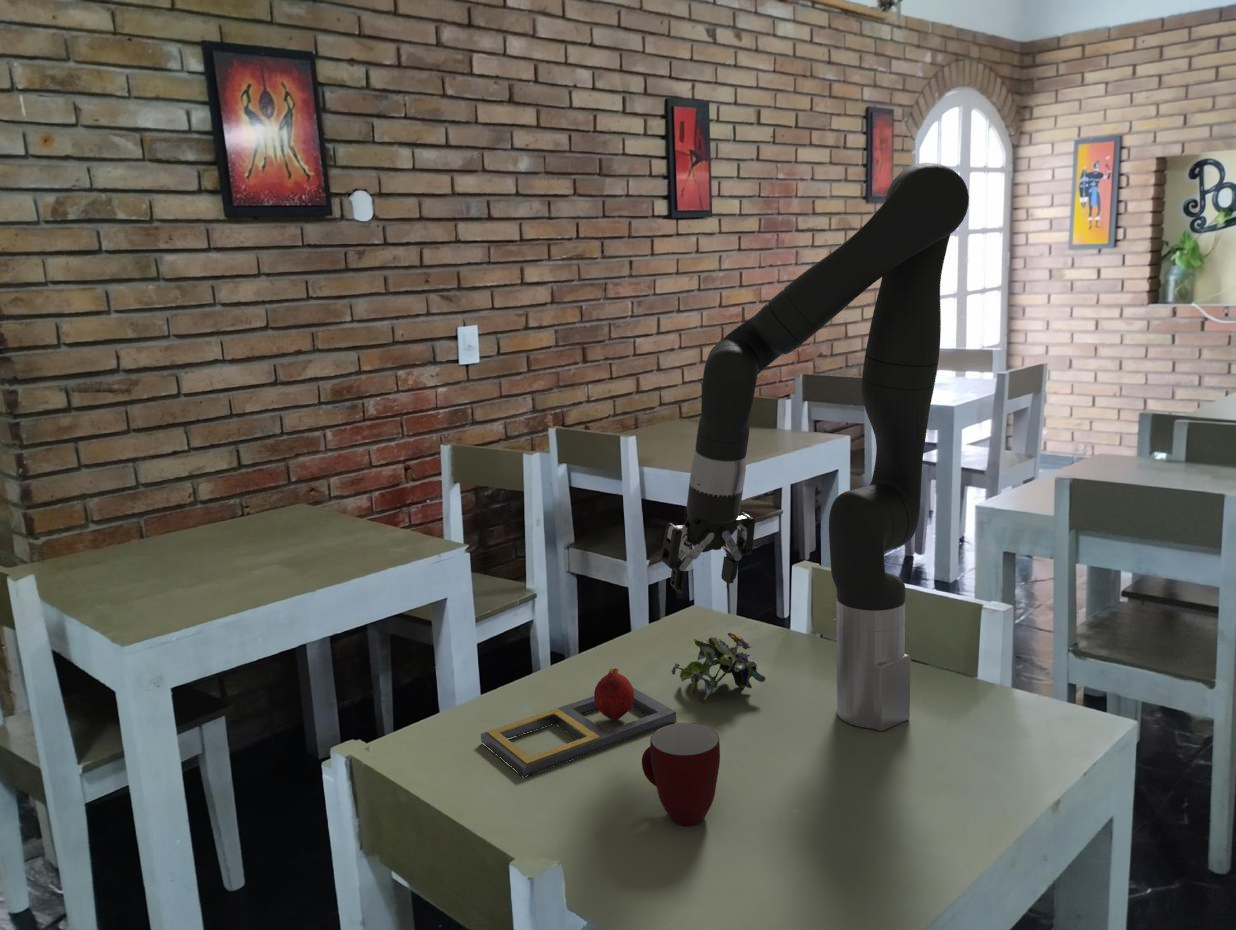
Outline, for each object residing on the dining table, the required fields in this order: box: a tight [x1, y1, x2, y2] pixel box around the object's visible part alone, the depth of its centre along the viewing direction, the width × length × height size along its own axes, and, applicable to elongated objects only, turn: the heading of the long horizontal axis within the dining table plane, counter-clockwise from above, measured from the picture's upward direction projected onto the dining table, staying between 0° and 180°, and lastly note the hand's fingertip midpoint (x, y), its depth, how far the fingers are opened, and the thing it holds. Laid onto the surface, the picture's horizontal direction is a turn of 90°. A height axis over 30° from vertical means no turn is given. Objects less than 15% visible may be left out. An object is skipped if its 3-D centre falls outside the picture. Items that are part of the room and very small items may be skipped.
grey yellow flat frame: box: [480, 687, 677, 777], centre depth 136 cm, size 12×25×2 cm, turn 125°
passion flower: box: [671, 632, 766, 704], centre depth 145 cm, size 11×11×12 cm
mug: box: [641, 722, 721, 826], centre depth 114 cm, size 10×8×10 cm
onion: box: [593, 666, 635, 721], centre depth 138 cm, size 6×6×8 cm
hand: (703, 585), depth 140 cm, fingers open, 8 cm apart
